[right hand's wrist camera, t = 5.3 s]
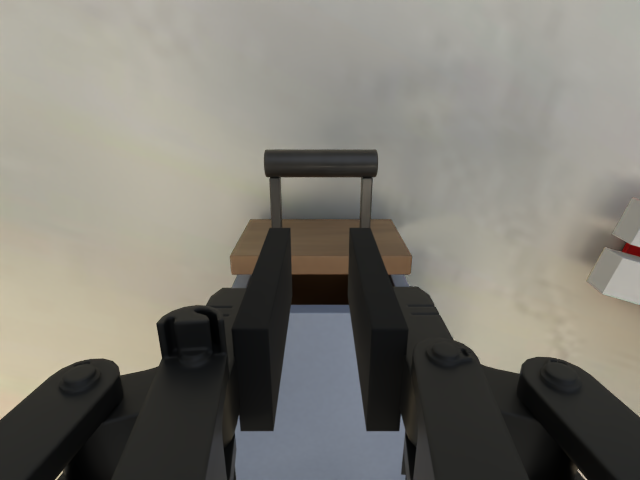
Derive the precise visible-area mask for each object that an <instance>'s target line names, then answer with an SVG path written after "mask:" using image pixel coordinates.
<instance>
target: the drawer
mask: <svg viewBox="0 0 640 480" xmlns="http://www.w3.org/2000/svg"><path fill="white" fill-rule="evenodd" d="M264 170H265V175H266V177H270V179H269V180H270V203H271V219H251V220H250V221H249V223H248V225H247V226H246V228H245V230H244V232H243V234H242V235H241V237H240V239H239V241H238V243H237V244H236V246H235V248H234V250H233V252H232V253H231V255H230V264H231V274H232V275H252V273H253V270H254V268H255V265H256V262H257V260H258V257H259V254H260V252H261V249H262V246H263V244H264V241H265V238H266V236H267V233H268V230H269V228H291V265H292V301H291V305H349V301H348V264H349V228H371V230H372V233H373V236H374V238H375V241H376V244H377V246H378V249H379V252H380V254H381V257H382V260H383V262H384V265H385V268H386V270H387V273H388V275H409V274H410V273H411V263H412V255H411V253H410V252H409V250H408V248H407V246H406V245H405V243H404V241H403V239H402V238H401V236H400V234H399V232H398V231H397V229H396V227H395V225H394V224H393V222H392V220H391V219H371V201H372V177H376V175H377V170H378V153H377V150H265V153H264ZM281 177H361V198H360V219H282V202H281Z"/></svg>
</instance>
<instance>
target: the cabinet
mask: <svg viewBox="0 0 640 480" xmlns="http://www.w3.org/2000/svg"><path fill="white" fill-rule="evenodd" d="M251 276H252V275H237V277H236V279H235V281H234V283H233V286H232V288H247V286H248V284H249V281H250V278H251ZM388 276H389V278H390V281H391V284H392V286H393V287H409V284H408V282H407V280H406V278H405V276H404V275H388ZM235 438H236V448H237V450H236V459H235V472H236V480H405V478H406V475H401V469H402V459H403V448H404V438H405V427H404V423H403V420H402V416H401V419H400V430H399V431H366V425H365V417H364V410H363V403H362V396H361V388H360V381H359V374H358V366H357V359H356V352H355V345H354V337H353V330H352V323H351V316H350V308H349V305H291V308H290V315H289V323H288V330H287V337H286V345H285V352H284V359H283V366H282V374H281V381H280V388H279V395H278V403H277V410H276V417H275V425H274V431H241V430H240V419H239V418H238V422H237V425H236V429H235Z"/></svg>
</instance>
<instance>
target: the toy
mask: <svg viewBox="0 0 640 480" xmlns="http://www.w3.org/2000/svg"><path fill="white" fill-rule="evenodd" d="M612 235H614V236H616V237H618V238H620V239H622V240H623V241H625V242H627V243H626V245H625V246H624V248H623V250H622V252H621V251H617V250H614V249H610V248H607V247H604V249H603V251H602V253H601V255H600V256H599V258H598V260H597V262H596V264H595V265H594V267H593V269H592V271H591V273H590V274H589V276H588V278H587V280H586V281H587V282H588V283H589V284H591V285H592V286H593V287H594V288H595V289H597V290H598V291H599V292H600V293H601V294H604V295H607V296H610V297H614V298H617V299H621V300H624V301H627V302H631V303H634V304H638V305H640V199H637V198H633V197H632V199H631V200H630V202H629V204H628V206H627V208H626V209H625V211H624V213H623V215H622V217H621V218H620V220H619V222H618V224H617V226H616V228H615V229H614V231H613V233H612Z"/></svg>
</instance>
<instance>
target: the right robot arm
mask: <svg viewBox="0 0 640 480" xmlns="http://www.w3.org/2000/svg"><path fill="white" fill-rule="evenodd" d="M291 301H292V265H291V228H269V230H268V233H267V236H266V238H265V241H264V244H263V246H262V249H261V252H260V254H259V257H258V260H257V262H256V265H255V268H254V270H253V273H252V276H251V278H250V281H249V284H248V286H247V288H222V289H220V290H219V291H218V292H216V293H215V294H214V295H212V296H211V297H210V299H209V301H208V303H207V305H206V306H201V305H195V306H188V307H183V308H180V309H177V310H174V311H171V312H170V313H168V314H166V315H165V316H163V317H162V318H161V319H160V320H159V321H158V322H157V330H158V336H159V342H160V348H161V354H162V360H161V362H160V365H159V366H158V367H156V368H152V369H149V370H145V371H140V372H135V373H131V374H126V375H121V376H120V372H119V367H118V366H117V365H116V364H115V363H114V362H113V361H110V360H106V359H89V360H84V361H79V362H76V363H74V364H72V365H69V366H67V367H65V368H62V369H61V370H59V371H58V372H56V373H55V374H53V375H52V376H51V377H49V378H48V379H47V380H46V381H45V382H43V383H42V384H41V385H40V386H39V387H38V388H37V389H35V390H34V391H33V392H32V393H31V394H30V395H28V396H27V397H26V398H25V399H24V400H23V401H22V402H20V403H19V404H18V405H17V406H16V407H15V408H14V409H12V410H11V411H10V412H9V413H8V414H7V415H6V416H4V417H3V418H2V419H1V420H0V480H55V479H56V478H57V476H58V475H59V474H60V473H61V472H62V470H63V473H62V475H61V476H60V477H59V478H58V479H57V480H233V478H234V469H235V459H236V450H237V448H236V438H235V429H236V425H237V422H238V418H239V419H240V430H241V431H274V425H275V417H276V410H277V403H278V395H279V388H280V381H281V374H282V366H283V359H284V352H285V345H286V337H287V330H288V323H289V315H290V308H291ZM348 301H349V308H350V316H351V323H352V330H353V337H354V345H355V352H356V359H357V366H358V374H359V381H360V388H361V396H362V403H363V410H364V417H365V425H366V431H399V430H400V419H401V416H402V420H403V423H404V427H405V438H404V448H403V459H402V469H401V475H406V478H407V480H585V479H584V478H583V477H582V476H581V475H580V474H579V472H578V471H577V470H578V469H579V470H580V471H581V472H582V474H583V475H584V476H585V477H586V478H587V480H640V417H639V416H638V415H636V414H635V413H634V412H633V411H632V410H631V409H629V408H628V407H627V406H626V405H625V404H624V403H622V402H621V401H620V400H619V399H618V398H617V397H616V396H614V395H613V394H612V393H611V392H610V391H609V390H607V389H606V388H605V387H604V386H603V385H602V384H600V383H599V382H598V381H597V380H596V379H595V378H594V377H592V376H591V375H590V374H588V373H587V372H585V371H584V370H582V369H581V368H580V367H578V366H575V365H573V364H571V363H568V362H566V361H564V360H560V359H557V358H551V357H535V358H531V359H527V360H526V361H525V362H524V363H523V364H522V367H521V371H520V374H518V373H513V372H508V371H503V370H498V369H494V368H490V367H487V366H484V365H481V364H480V362H479V359H478V357H477V356H476V355H475V353H474V352H473V351H472V350H471V349H470V348H468V347H467V346H465V345H464V344H462V343H460V342H457V341H454V340H453V338H452V336H451V335H450V333H449V331H448V329H447V327H446V325H445V323H444V322H443V320H442V318H441V316H440V315H439V312H438V311H437V309H436V307H435V306H434V303H433V301H432V299H431V298H430V296H429V295H428V294H427V293H426V292H424V291H423V290H421V289H420V288H419V287H393V286H392V284H391V281H390V278H389V276H388V273H387V270H386V268H385V265H384V262H383V260H382V257H381V254H380V252H379V249H378V246H377V244H376V241H375V238H374V236H373V233H372V230H371V228H349V264H348Z"/></svg>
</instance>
